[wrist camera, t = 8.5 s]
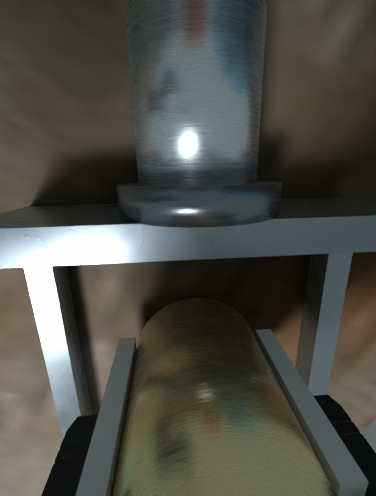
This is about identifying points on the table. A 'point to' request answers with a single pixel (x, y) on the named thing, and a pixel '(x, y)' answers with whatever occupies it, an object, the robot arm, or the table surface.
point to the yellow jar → (210, 413)
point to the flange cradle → (189, 191)
